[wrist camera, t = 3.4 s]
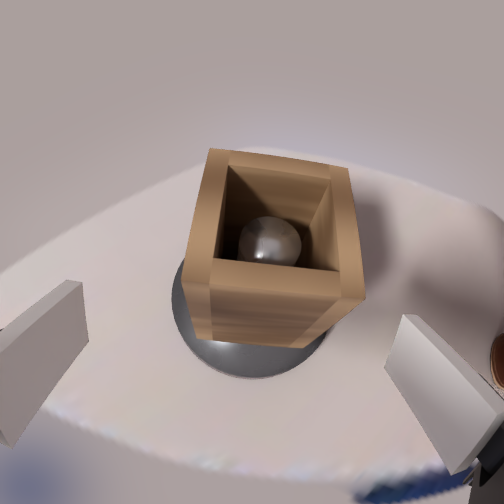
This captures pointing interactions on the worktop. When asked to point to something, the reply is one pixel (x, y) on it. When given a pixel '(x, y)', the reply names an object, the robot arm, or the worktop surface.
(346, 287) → the sleeve
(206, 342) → the post stand
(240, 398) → the worktop surface
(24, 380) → the robot arm
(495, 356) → the coffee cup
